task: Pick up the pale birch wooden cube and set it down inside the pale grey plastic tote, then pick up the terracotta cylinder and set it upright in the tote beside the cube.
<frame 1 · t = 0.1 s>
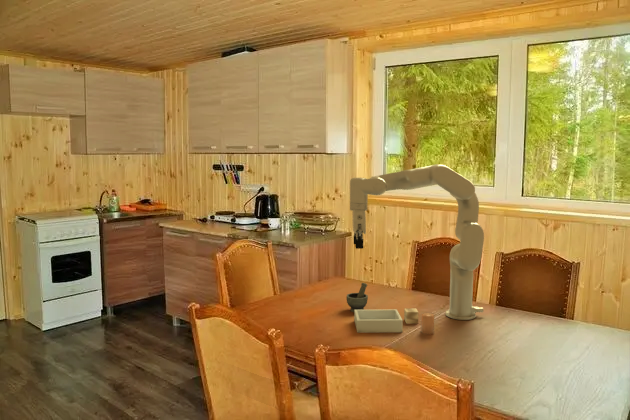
hand: (358, 246, 222), 31 cm above the table, tool pointing down, fingers open, 9 cm apart
tote: (377, 326, 213), on the table
cylinder: (427, 332, 206), on the table
cube: (411, 321, 219), on the table
mortar and pestle: (358, 310, 235), on the table
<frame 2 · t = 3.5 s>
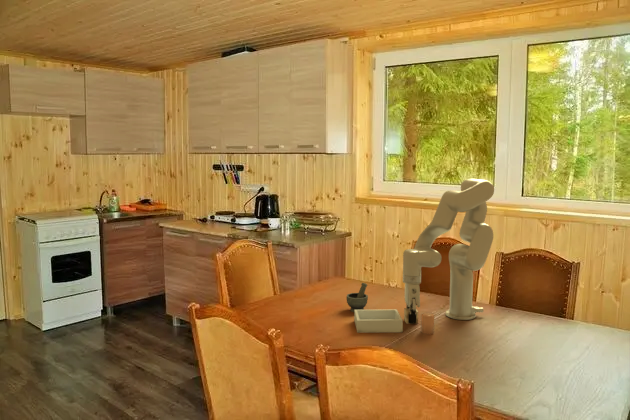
hand: (411, 320, 219), 0 cm above the table, tool pointing down, fingers closed on cube, 5 cm apart
cube: (411, 321, 219), on the table, touching gripper
everything else where it was.
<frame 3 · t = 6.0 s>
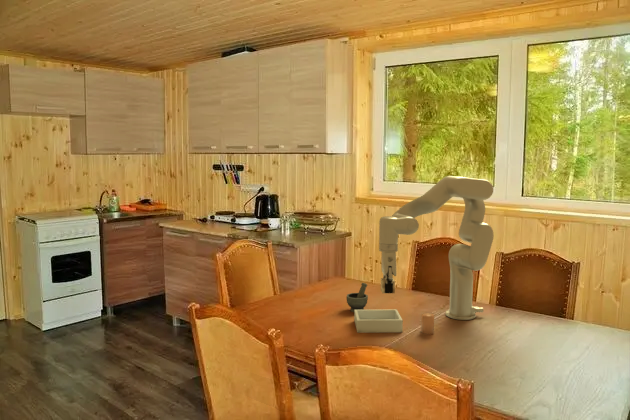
hand: (387, 290, 211), 15 cm above the table, tool pointing down, fingers closed on cube, 4 cm apart
cube: (387, 291, 211), point 15 cm above the table, touching gripper
everything else where it was.
when the fingers open (4 cm above the table, at t = 8.3 s): cube drops 3 cm, resting on tote.
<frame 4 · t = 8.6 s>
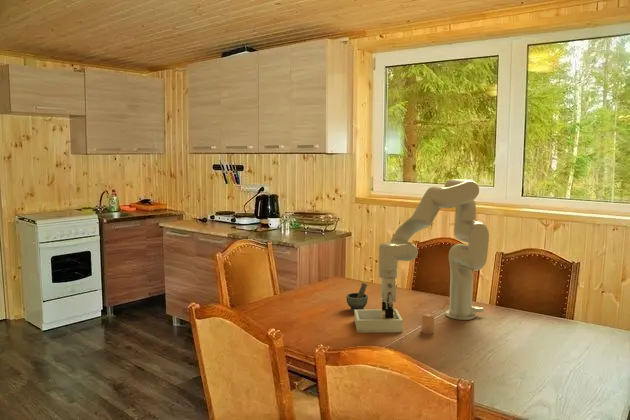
hand: (387, 314, 212), 5 cm above the table, tool pointing down, fingers open, 8 cm apart
cube: (387, 324, 213), point 1 cm above the table, touching tote
everything else where it was.
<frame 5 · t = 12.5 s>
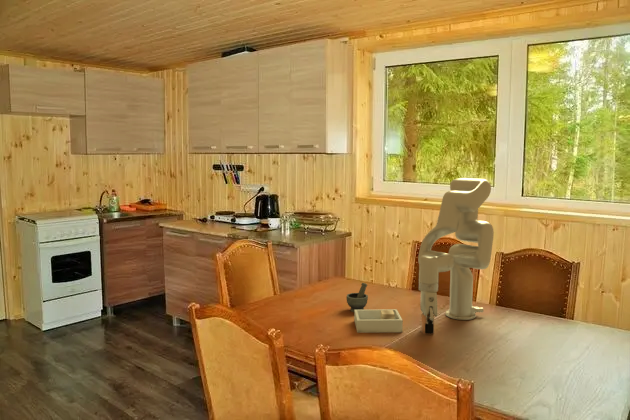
hand: (427, 330, 206), 1 cm above the table, tool pointing down, fingers closed on cylinder, 5 cm apart
cylinder: (427, 332, 206), on the table, touching gripper
everything else where it was.
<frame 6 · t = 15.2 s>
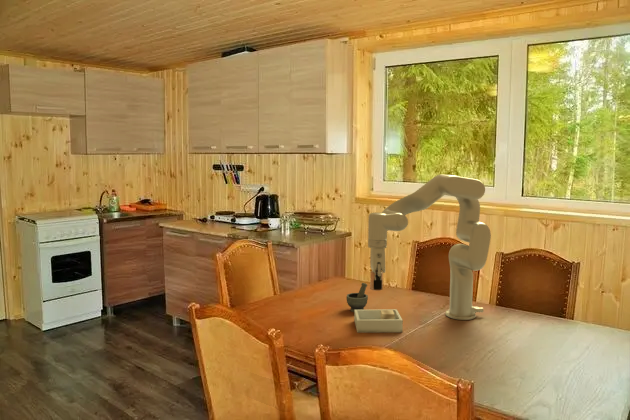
hand: (376, 287, 210), 17 cm above the table, tool pointing down, fingers closed on cylinder, 5 cm apart
cylinder: (376, 289, 210), point 16 cm above the table, touching gripper
everything else where it was.
when the fingers open (5 cm above the table, at t = 18.2 s): cylinder drops 3 cm, resting on tote.
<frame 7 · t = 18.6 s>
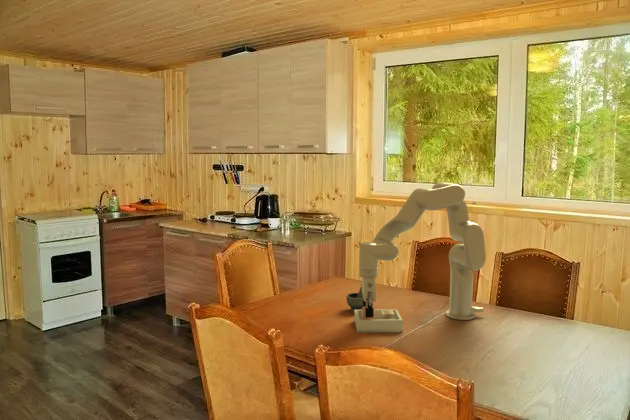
hand: (368, 313, 212), 6 cm above the table, tool pointing down, fingers open, 9 cm apart
cylinder: (368, 324, 213), point 1 cm above the table, touching tote
everything else where it was.
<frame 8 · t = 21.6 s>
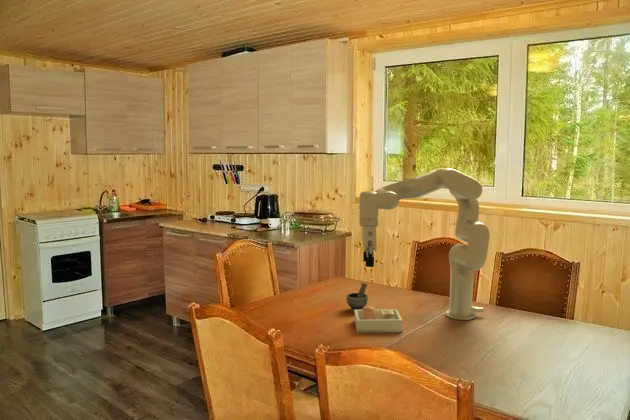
hand: (368, 263, 210), 26 cm above the table, tool pointing down, fingers open, 9 cm apart
nothing on the table moved.
at the end: cube inside the target area on the tote (4.0 cm from its centre), point 1.0 cm above the tote's base; cylinder inside the target area on the tote (3.8 cm from its centre), point 1.1 cm above the tote's base; cylinder tilted 2° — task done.
